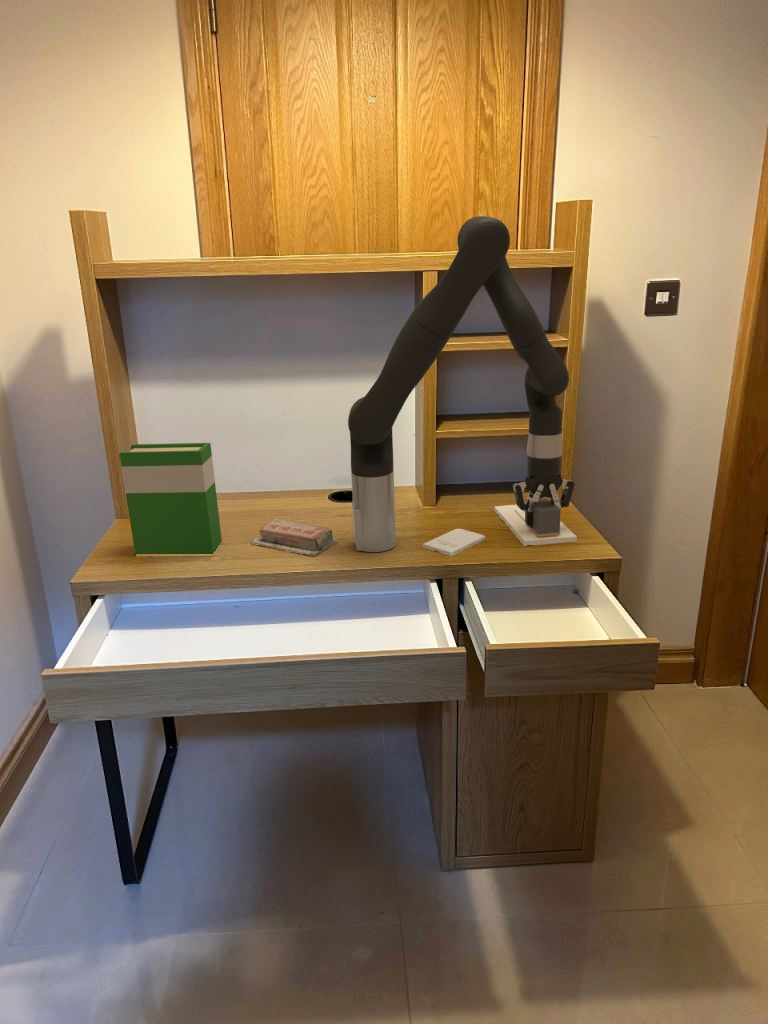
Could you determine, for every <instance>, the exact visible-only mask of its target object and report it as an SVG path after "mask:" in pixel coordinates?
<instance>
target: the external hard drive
mask: <svg viewBox="0 0 768 1024" xmlns="http://www.w3.org/2000/svg"><path fill="white" fill-rule="evenodd" d="M483 540H484V541H486V536H485V535H484V534H481V533H477V532H473V531H469V530H467V529H462V528H455V529H452V530H451V531H449V532H446V533H444V534H441V535H440V536H437V537H435V538H432V539H430V540H429V541H426V542H424V543H422V544H421V548H422V549H425V550H430V551H433V552H436V553H439V554H442V555H446V556H447V557H453V556H455V555H457V554H459V553H461V552H463V551H465V550H467V549H469V548H471V547H473V545H474V546H476V545H477V544H480V543H482V542H483ZM481 541H482V542H481Z"/></svg>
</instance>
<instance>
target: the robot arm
mask: <svg viewBox="0 0 768 1024" xmlns="http://www.w3.org/2000/svg"><path fill="white" fill-rule="evenodd" d="M510 237H511V236H510V231H509V229H508V227H507V226H506V224H505V223H504V222H503V221H502V220H500V219H498V218H495V217H492V216H485V215H484V216H483V215H481V216H480V215H478V216H474V217H471V218H469V219H468V220H466V221H464V223H463V224H462V225H461V227H460V229H459V230H458V234H457V241H456V242H457V243H456V244H457V248H458V250H457V252H456V255H455V257H454V259H452V262H451V263H450V266H449V267H448V269H447V271H446V272H445V274H444V275H443V277H442V278H441V279H440V281H438V283H437V284H436V285H435V286H434V287H433V288H431V290H430V291H429V292H428V293H427V294H426V295H425V296H424V297H423V298H422V300H421V301H420V302H419V303H418V304H417V305H416V307H415V308H414V309H413V310H412V311H411V314H410V316H409V317H408V318H407V320H406V322H405V323H404V325H403V327H402V328H400V329H401V330H400V331H399V333H398V335H397V336H396V339H395V340H394V342H393V344H392V346H391V349H390V351H389V353H388V355H387V358H386V359H385V363H384V366H383V368H382V369H381V372H380V374H379V376H378V377H377V378H376V380H375V382H374V383H373V385H372V386H371V387H370V389H369V390H368V391H367V393H366V394H365V395H364V396H362V397H360V398H359V399H357V400H356V401H355V402H354V403H353V404H352V406H351V407H350V410H349V413H348V419H347V426H348V430H349V436H350V437H349V438H350V440H349V441H350V471H351V474H350V475H351V488H352V489H351V490H352V491H351V493H352V503H351V506H352V509H351V510H352V511H351V512H352V513H351V514H352V529H353V530H352V532H353V542H354V547H355V549H356V552H366V553H381V552H387V551H389V550H392V549H393V548H395V547H396V546H397V534H396V531H397V529H396V506H395V505H396V504H395V503H396V501H395V475H394V473H395V472H394V447H393V446H394V445H393V443H394V442H393V426H394V424H395V422H396V420H397V418H398V416H399V415H400V413H401V410H402V409H403V407H404V405H405V403H406V401H407V399H408V397H409V396H410V395H411V393H412V391H414V389H415V388H416V387H417V385H418V384H419V383H420V382H421V380H422V379H423V378H424V376H425V375H426V374H427V372H428V371H429V370H430V368H431V367H432V365H434V362H435V361H436V360H437V358H438V357H439V356H440V354H441V353H442V351H443V349H444V348H445V346H446V345H447V343H448V342H449V340H450V338H451V337H452V335H453V333H454V332H455V330H456V329H457V327H458V325H459V324H460V321H461V320H462V319H463V317H464V315H465V314H466V312H467V310H468V307H469V306H470V304H471V303H472V301H473V299H474V298H475V296H476V295H477V293H478V292H480V291H479V290H481V288H482V286H483V288H484V290H485V291H486V293H487V295H488V297H489V299H490V300H491V303H492V305H493V307H494V308H495V311H496V314H497V315H498V317H499V321H500V322H501V324H502V327H503V329H504V331H505V333H506V335H507V337H508V339H509V342H510V343H511V345H512V348H513V350H514V351H515V352H516V355H517V356H518V357H519V358H520V359H522V360H523V362H525V363H526V364H527V366H528V367H527V369H526V370H525V371H526V372H525V376H524V390H525V396H526V402H527V407H528V413H529V415H528V416H529V417H528V437H527V444H526V446H527V447H526V452H527V453H526V477H525V479H524V481H522V482H519V483H517V482H513V483H512V490H513V493H514V498H515V502H516V503H515V504H516V505H517V506H518V507H519V508H520V509H521V510H525V523H526V524H527V525H528V526H529V527H530V528H532V527H533V512H532V511H533V509H534V507H535V504H536V503H537V501H538V499H540V498H547V499H549V500H550V501H551V502H552V503H553V504H554V505H556V506H557V507H558V508H560V509H562V508H563V509H564V508H568V507H569V506H570V503H571V500H572V499H571V498H572V495H573V491H574V489H575V482H574V481H573V480H571V479H570V478H567V479H564V478H563V476H562V468H563V467H562V464H563V463H562V462H563V436H562V435H563V434H562V432H563V431H562V429H563V412H562V409H561V406H559V405H558V404H557V402H556V397H557V396H560V395H561V394H563V393H564V392H565V391H566V389H567V388H568V386H569V382H570V375H569V371H568V368H567V366H566V364H565V362H564V360H563V359H562V357H561V356H560V354H559V353H558V352H557V350H556V348H555V347H554V346H553V345H552V343H551V342H550V340H549V338H548V336H547V334H546V332H545V330H544V327H543V325H542V323H541V321H540V319H539V317H538V316H539V315H538V314H537V313H536V311H535V309H534V308H533V307H534V306H532V304H531V302H530V301H529V299H528V298H527V295H525V293H524V291H523V290H522V289H521V287H520V285H519V283H518V282H517V280H516V278H515V276H514V274H513V273H512V270H511V268H510V265H509V263H508V260H507V258H506V256H507V254H508V251H509V249H510V245H511V238H510ZM561 486H562V489H563V490H562V492H561V496H560V497H559V495H558V490H559V489H560V487H561ZM525 488H527V489H528V490H529V492H528V494H527V497H526V500H527V502H526V501H525V500H524V495H523V493H524V492H525Z"/></svg>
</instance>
